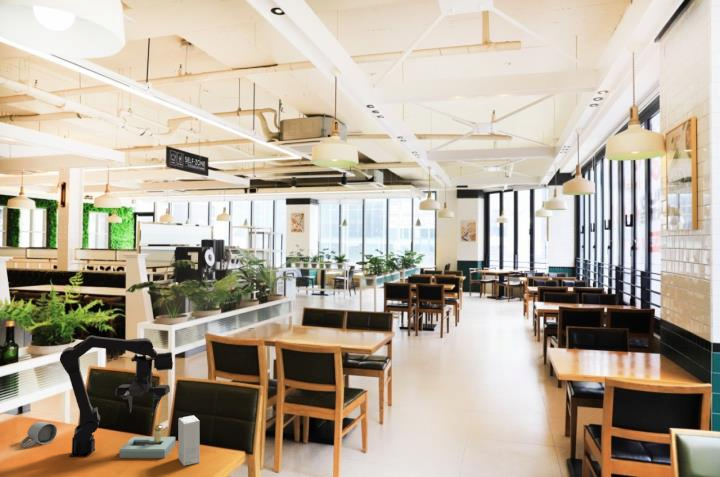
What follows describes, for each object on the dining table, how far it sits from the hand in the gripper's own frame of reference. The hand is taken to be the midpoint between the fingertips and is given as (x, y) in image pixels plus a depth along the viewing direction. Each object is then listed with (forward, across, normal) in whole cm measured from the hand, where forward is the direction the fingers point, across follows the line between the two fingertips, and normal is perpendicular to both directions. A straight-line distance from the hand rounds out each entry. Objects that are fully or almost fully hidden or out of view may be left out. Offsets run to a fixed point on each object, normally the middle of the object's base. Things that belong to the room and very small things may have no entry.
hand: (142, 412), depth 190 cm
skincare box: (+13, +22, -14) cm, 29 cm away
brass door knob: (+12, +8, -6) cm, 16 cm away
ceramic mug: (+13, -40, +2) cm, 42 cm away
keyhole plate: (+12, +5, -6) cm, 15 cm away
